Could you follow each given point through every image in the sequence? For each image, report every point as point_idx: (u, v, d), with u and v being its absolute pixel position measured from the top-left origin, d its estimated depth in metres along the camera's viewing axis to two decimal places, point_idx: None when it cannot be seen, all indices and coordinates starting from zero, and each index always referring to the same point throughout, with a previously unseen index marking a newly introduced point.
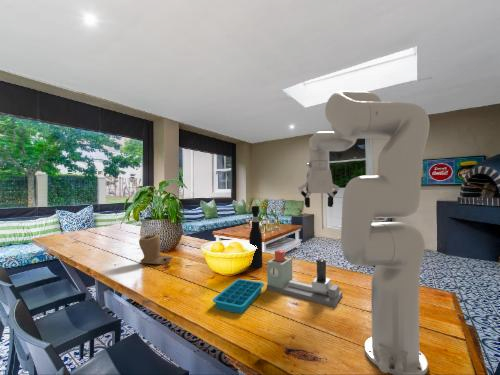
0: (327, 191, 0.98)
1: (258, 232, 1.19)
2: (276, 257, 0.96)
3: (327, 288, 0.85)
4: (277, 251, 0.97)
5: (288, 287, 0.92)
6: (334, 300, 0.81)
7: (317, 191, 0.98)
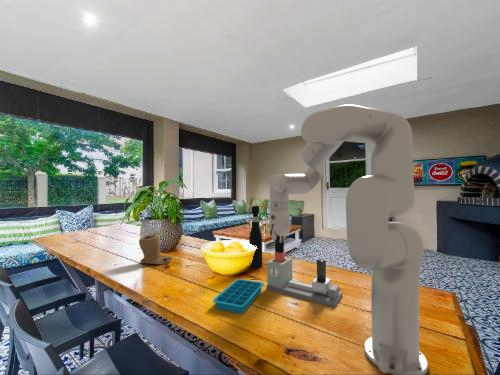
0: (288, 232, 0.97)
1: (258, 232, 1.19)
2: (276, 257, 0.96)
3: (327, 288, 0.85)
4: (277, 252, 0.97)
5: (288, 287, 0.92)
6: (334, 300, 0.81)
7: (283, 233, 0.94)
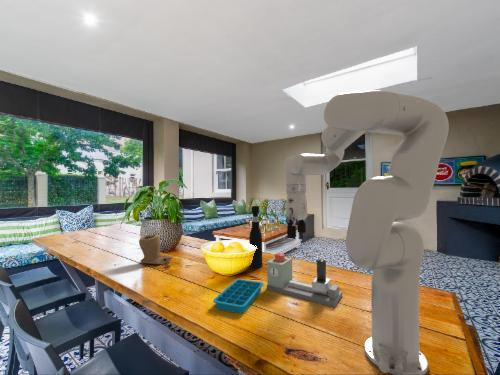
0: (305, 217, 0.93)
1: (258, 232, 1.19)
2: (276, 260, 0.96)
3: (327, 288, 0.85)
4: (277, 254, 0.97)
5: (288, 287, 0.92)
6: (334, 300, 0.81)
7: (302, 217, 0.89)
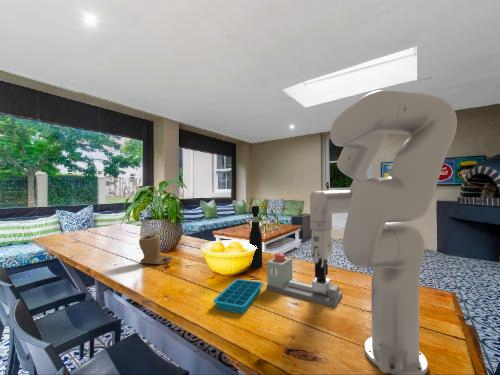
0: (330, 254, 0.88)
1: (258, 232, 1.19)
2: (276, 260, 0.96)
3: (327, 288, 0.85)
4: (277, 254, 0.97)
5: (288, 287, 0.92)
6: (334, 300, 0.81)
7: (327, 256, 0.84)
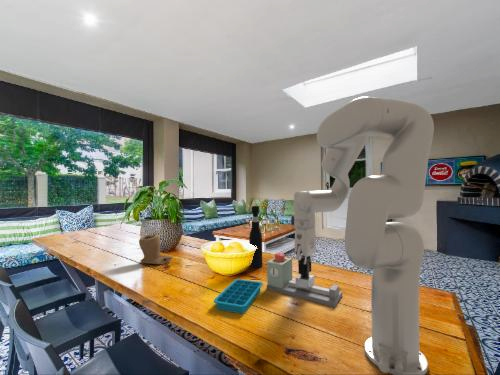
0: (314, 251, 0.91)
1: (258, 232, 1.19)
2: (276, 260, 0.96)
3: (310, 284, 0.89)
4: (277, 254, 0.97)
5: (288, 287, 0.92)
6: (334, 300, 0.81)
7: (310, 253, 0.88)
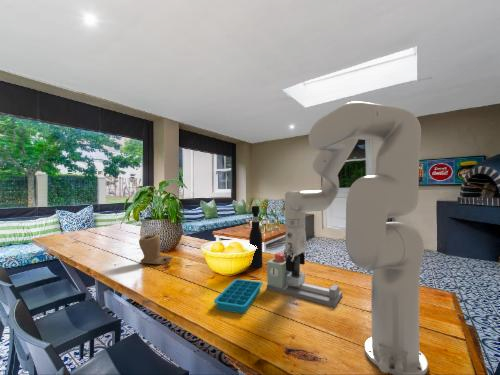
0: (304, 250, 0.93)
1: (258, 232, 1.19)
2: (276, 260, 0.96)
3: (300, 282, 0.91)
4: (277, 254, 0.97)
5: (288, 287, 0.92)
6: (334, 300, 0.81)
7: (300, 252, 0.90)
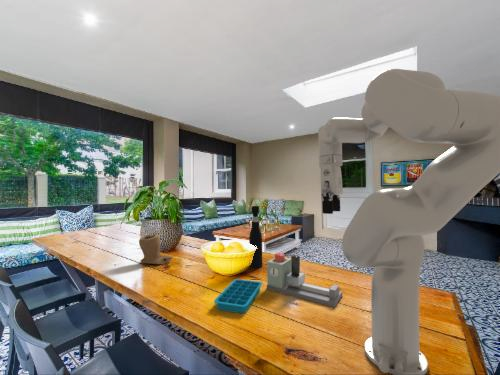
0: (341, 192, 0.83)
1: (258, 232, 1.19)
2: (276, 260, 0.96)
3: (300, 282, 0.91)
4: (277, 254, 0.97)
5: (288, 287, 0.92)
6: (334, 300, 0.81)
7: (338, 192, 0.79)
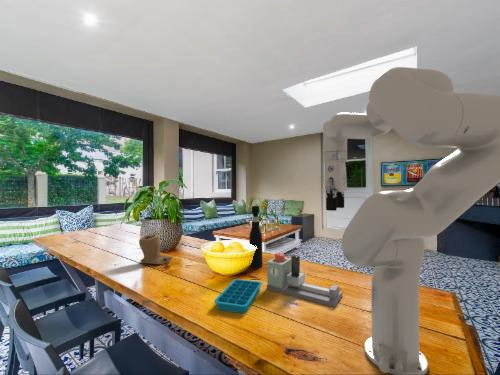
0: (345, 189, 0.82)
1: (258, 232, 1.19)
2: (276, 260, 0.96)
3: (300, 282, 0.91)
4: (277, 254, 0.97)
5: (288, 287, 0.92)
6: (334, 300, 0.81)
7: (342, 189, 0.78)
